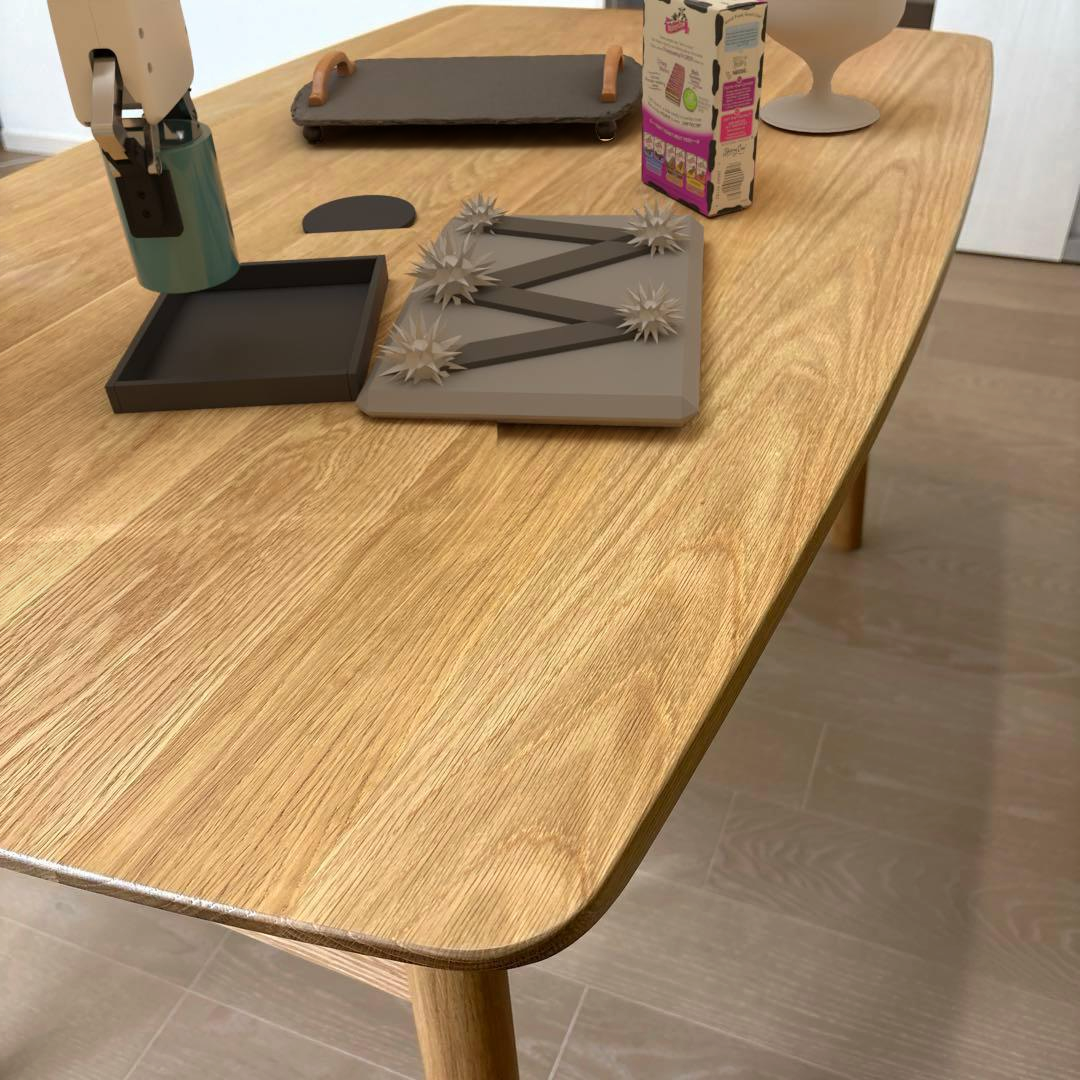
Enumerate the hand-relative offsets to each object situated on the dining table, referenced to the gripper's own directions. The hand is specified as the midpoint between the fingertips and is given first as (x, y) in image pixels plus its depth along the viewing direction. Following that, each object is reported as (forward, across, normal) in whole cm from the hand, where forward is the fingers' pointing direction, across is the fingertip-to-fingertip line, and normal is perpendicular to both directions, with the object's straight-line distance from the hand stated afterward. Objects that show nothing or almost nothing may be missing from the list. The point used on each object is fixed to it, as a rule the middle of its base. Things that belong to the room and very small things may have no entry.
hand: (173, 209), depth 69 cm
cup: (+4, 0, 0) cm, 4 cm away
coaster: (+11, -24, +8) cm, 27 cm away
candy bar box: (+10, -26, +38) cm, 47 cm away
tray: (+11, -1, +4) cm, 11 cm away
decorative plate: (+11, -3, +24) cm, 27 cm away
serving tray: (+11, -53, +17) cm, 57 cm away
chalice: (+10, -45, +53) cm, 70 cm away
